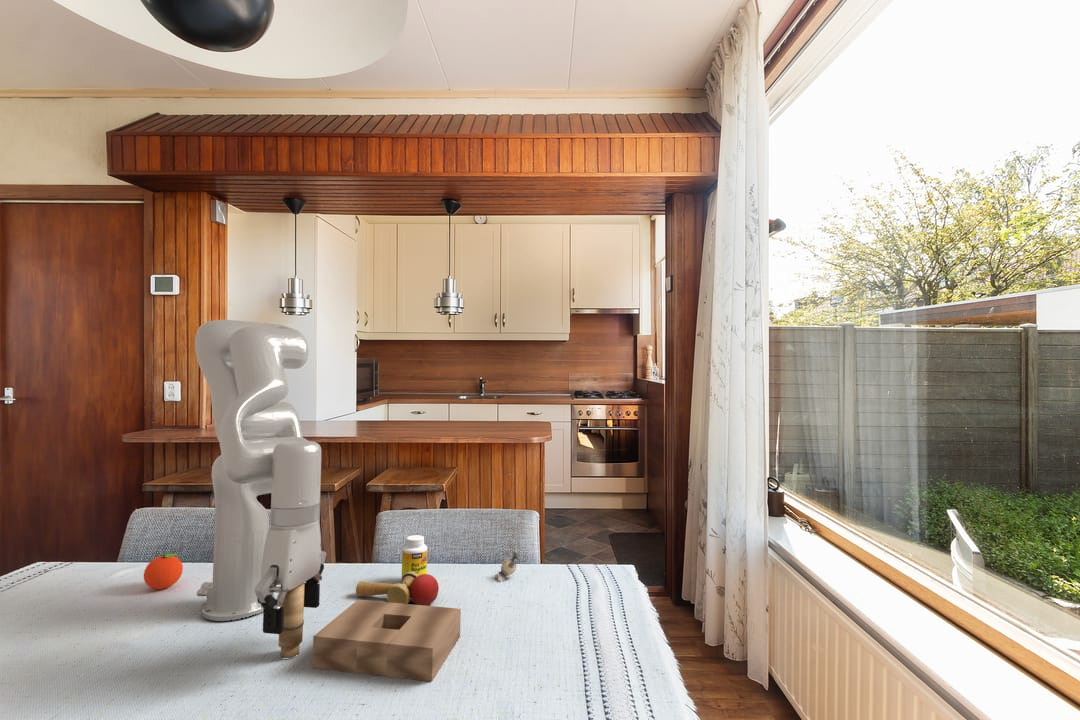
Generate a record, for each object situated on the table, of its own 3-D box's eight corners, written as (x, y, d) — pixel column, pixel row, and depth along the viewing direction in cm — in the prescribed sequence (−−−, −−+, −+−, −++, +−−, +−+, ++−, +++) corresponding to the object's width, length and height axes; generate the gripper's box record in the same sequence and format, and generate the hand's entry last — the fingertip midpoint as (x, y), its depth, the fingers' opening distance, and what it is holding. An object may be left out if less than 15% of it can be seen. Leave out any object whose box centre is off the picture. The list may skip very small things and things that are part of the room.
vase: (520, 573, 124) (521, 549, 123) (521, 584, 118) (522, 558, 118) (498, 573, 123) (499, 548, 123) (498, 584, 118) (499, 558, 118)
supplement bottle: (409, 589, 113) (410, 542, 113) (396, 582, 117) (398, 537, 117) (431, 583, 117) (432, 537, 117) (418, 576, 121) (419, 532, 121)
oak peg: (272, 659, 84) (275, 585, 84) (287, 647, 88) (289, 576, 88) (293, 661, 83) (296, 586, 84) (307, 649, 87) (310, 578, 88)
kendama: (347, 611, 105) (429, 609, 101) (348, 578, 106) (428, 575, 102) (368, 603, 112) (445, 600, 108) (368, 572, 114) (444, 568, 110)
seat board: (312, 668, 82) (313, 636, 82) (356, 626, 95) (357, 599, 96) (431, 681, 78) (432, 648, 79) (460, 637, 92) (460, 608, 93)
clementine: (172, 578, 117) (174, 546, 117) (194, 582, 115) (195, 550, 115) (134, 591, 109) (136, 557, 110) (157, 596, 107) (158, 562, 107)
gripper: (306, 503, 96) (303, 597, 95) (238, 527, 78) (233, 642, 77) (343, 504, 94) (341, 599, 93) (282, 530, 77) (278, 646, 76)
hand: (292, 619), depth 85 cm, fingers open, 9 cm apart
